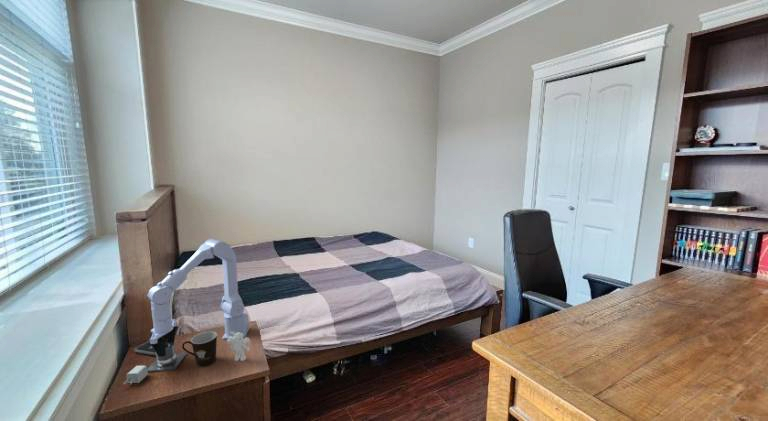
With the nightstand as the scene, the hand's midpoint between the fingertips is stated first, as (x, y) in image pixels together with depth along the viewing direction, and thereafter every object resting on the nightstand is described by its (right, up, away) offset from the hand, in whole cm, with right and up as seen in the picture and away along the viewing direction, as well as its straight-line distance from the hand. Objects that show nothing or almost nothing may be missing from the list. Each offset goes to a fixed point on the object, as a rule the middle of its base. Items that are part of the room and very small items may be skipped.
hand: (166, 351), depth 122 cm
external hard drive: (-11, -4, +9) cm, 15 cm away
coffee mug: (+13, -5, +2) cm, 14 cm away
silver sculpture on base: (0, -5, +1) cm, 5 cm away
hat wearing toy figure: (+27, -5, +3) cm, 28 cm away
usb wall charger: (-4, -7, -10) cm, 13 cm away
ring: (0, -2, 0) cm, 2 cm away
